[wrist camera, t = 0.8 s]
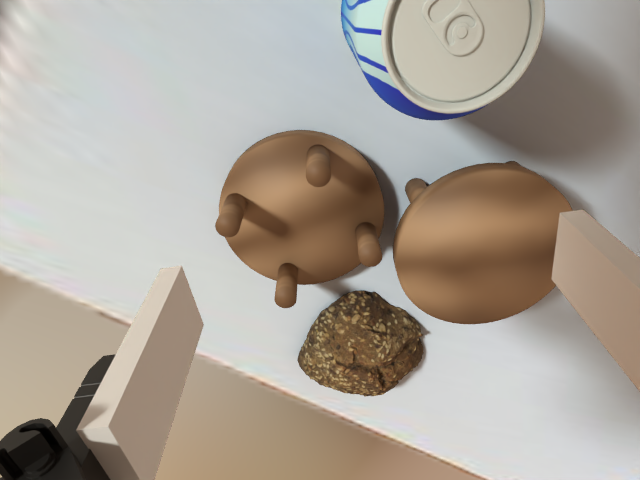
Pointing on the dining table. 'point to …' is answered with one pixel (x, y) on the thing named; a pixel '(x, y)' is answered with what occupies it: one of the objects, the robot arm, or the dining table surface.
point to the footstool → (478, 242)
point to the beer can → (442, 50)
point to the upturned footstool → (302, 210)
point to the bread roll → (361, 345)
